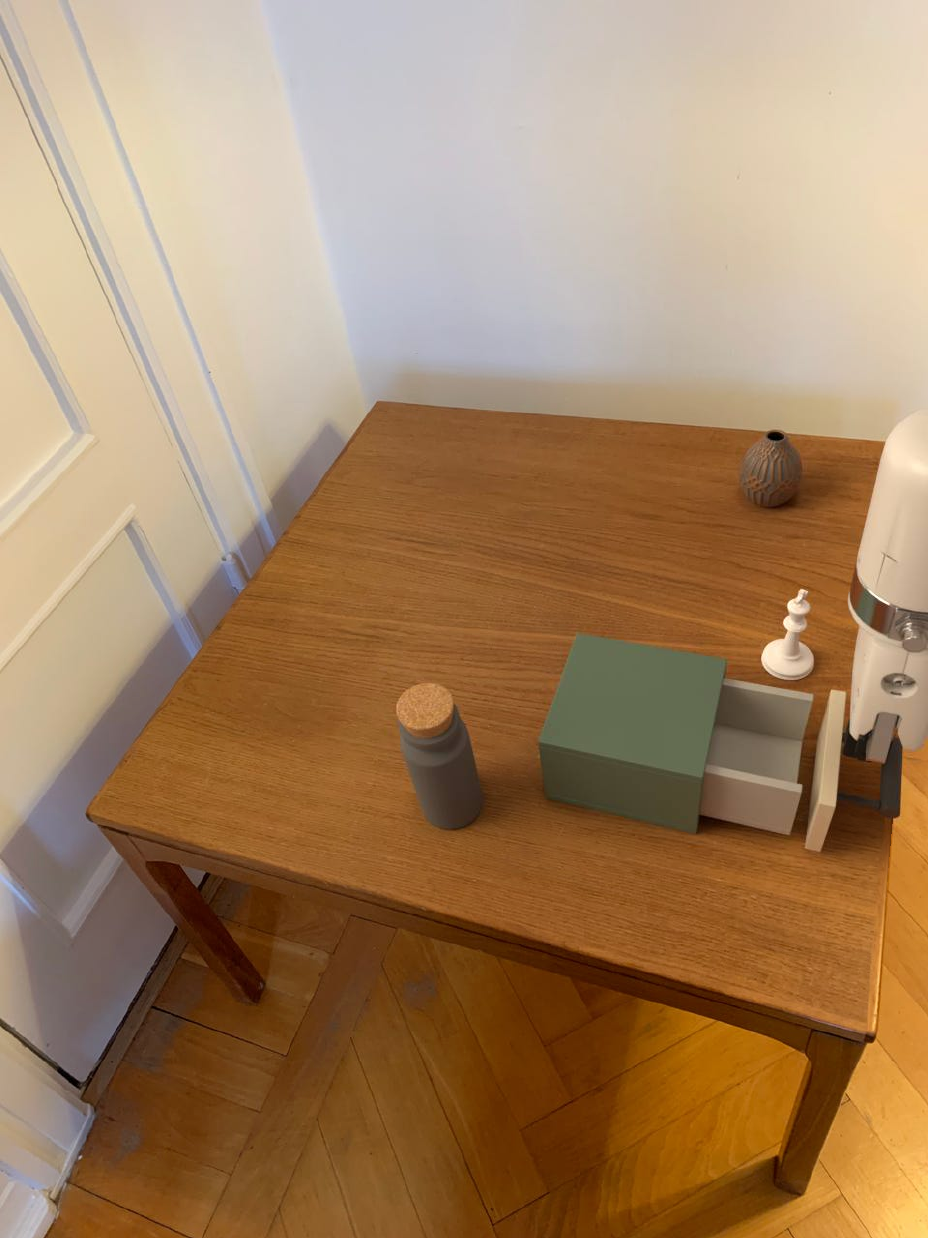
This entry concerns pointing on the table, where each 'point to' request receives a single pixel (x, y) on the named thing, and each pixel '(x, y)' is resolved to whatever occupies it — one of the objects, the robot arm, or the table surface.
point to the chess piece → (790, 645)
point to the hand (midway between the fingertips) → (864, 751)
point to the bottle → (439, 756)
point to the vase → (770, 470)
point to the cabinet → (632, 730)
